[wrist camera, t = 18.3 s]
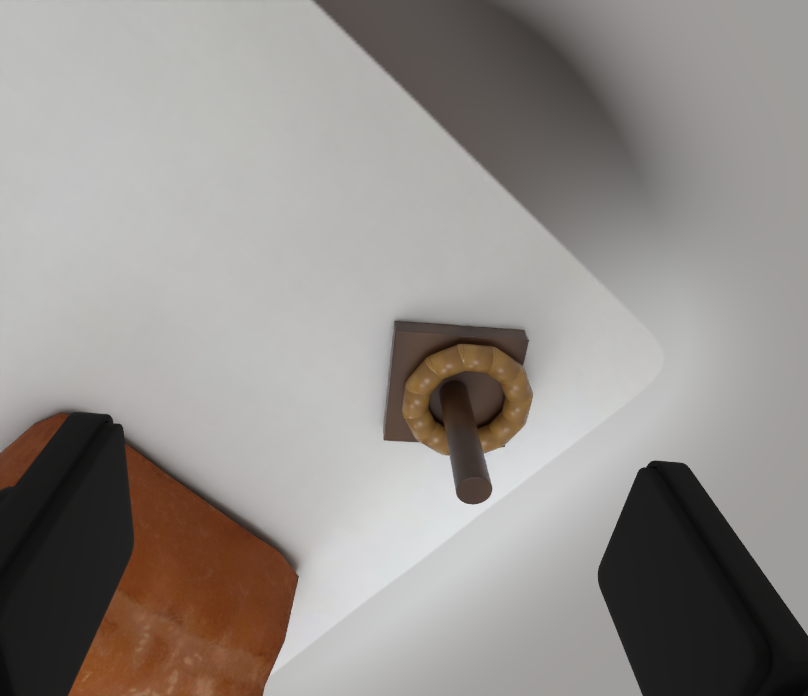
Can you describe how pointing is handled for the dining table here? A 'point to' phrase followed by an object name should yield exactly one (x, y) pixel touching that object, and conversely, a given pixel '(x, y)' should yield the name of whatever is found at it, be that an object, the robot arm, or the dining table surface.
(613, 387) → the dining table surface
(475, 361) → the ring
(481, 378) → the stand
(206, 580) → the bread
